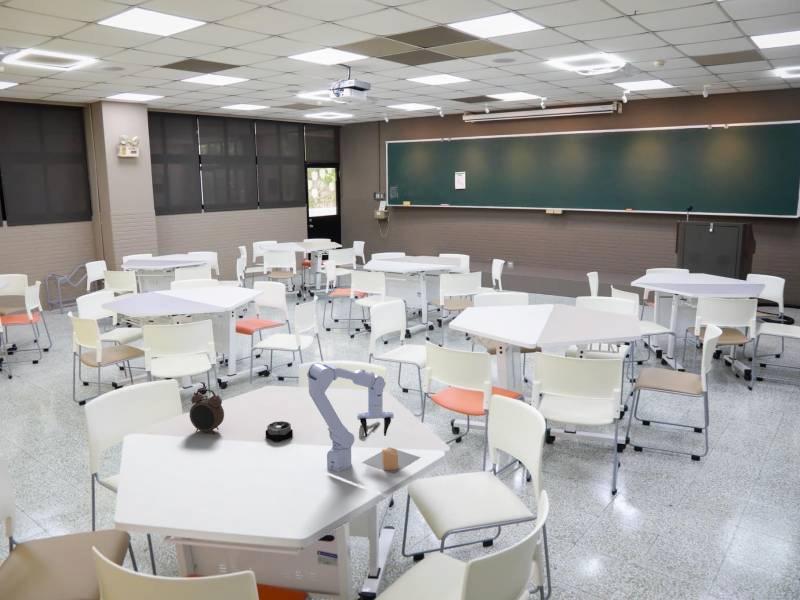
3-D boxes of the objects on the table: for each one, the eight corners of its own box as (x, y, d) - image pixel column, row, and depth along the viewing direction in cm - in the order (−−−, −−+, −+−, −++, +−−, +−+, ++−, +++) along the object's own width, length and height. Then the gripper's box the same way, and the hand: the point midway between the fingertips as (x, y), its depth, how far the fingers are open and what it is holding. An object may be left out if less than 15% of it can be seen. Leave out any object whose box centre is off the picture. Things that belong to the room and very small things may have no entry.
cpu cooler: (281, 419, 275) (295, 425, 268) (282, 431, 276) (295, 437, 269) (262, 425, 267) (276, 431, 261) (262, 437, 268) (276, 444, 262)
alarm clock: (188, 433, 272) (185, 390, 268) (197, 427, 279) (195, 385, 275) (218, 436, 269) (215, 393, 265) (226, 430, 276) (224, 388, 272)
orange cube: (397, 469, 237) (397, 454, 236) (383, 470, 236) (383, 455, 235) (396, 462, 242) (396, 448, 241) (382, 463, 241) (382, 449, 240)
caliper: (361, 440, 266) (361, 426, 265) (358, 440, 267) (358, 426, 266) (380, 423, 285) (380, 410, 284) (378, 423, 286) (378, 410, 284)
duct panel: (393, 476, 233) (393, 464, 232) (361, 464, 243) (361, 453, 242) (420, 459, 247) (420, 448, 246) (389, 449, 257) (389, 438, 256)
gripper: (392, 399, 250) (392, 430, 253) (356, 400, 248) (357, 432, 251) (394, 405, 243) (394, 437, 246) (357, 406, 241) (358, 439, 244)
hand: (375, 435), depth 248 cm, fingers open, 7 cm apart
